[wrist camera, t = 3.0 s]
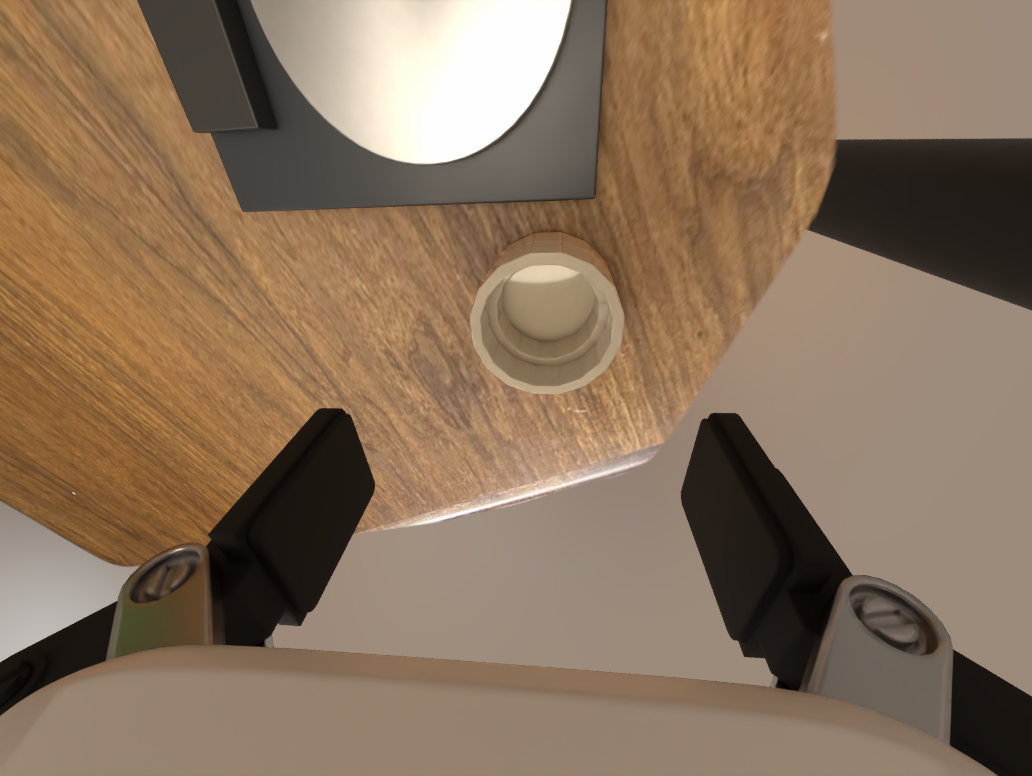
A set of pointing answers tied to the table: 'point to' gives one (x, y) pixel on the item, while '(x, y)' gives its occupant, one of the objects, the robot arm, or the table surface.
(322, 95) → the scale
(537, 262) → the bowl
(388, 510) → the table surface
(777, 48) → the table surface
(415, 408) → the table surface
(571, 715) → the robot arm
